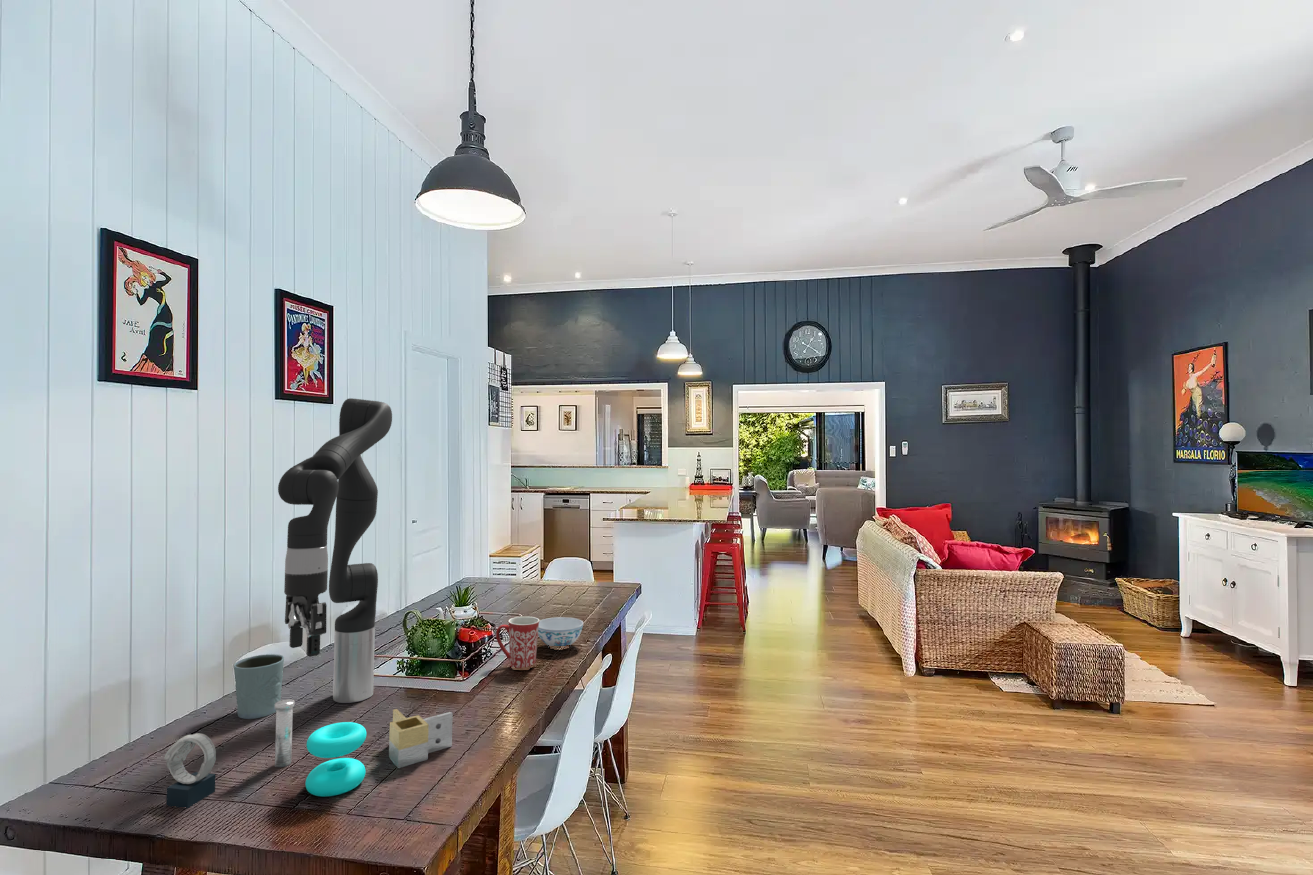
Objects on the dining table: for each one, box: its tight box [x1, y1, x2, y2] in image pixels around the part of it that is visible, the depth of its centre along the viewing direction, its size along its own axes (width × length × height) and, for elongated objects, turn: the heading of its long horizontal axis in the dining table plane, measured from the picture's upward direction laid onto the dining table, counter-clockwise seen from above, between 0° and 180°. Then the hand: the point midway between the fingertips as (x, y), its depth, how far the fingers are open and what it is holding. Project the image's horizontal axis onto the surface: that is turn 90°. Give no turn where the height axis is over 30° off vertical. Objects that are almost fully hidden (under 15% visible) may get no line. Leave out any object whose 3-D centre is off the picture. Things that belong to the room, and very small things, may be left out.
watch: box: [163, 732, 217, 809], centre depth 112 cm, size 6×8×11 cm
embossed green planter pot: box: [233, 653, 285, 720], centre depth 149 cm, size 10×10×12 cm
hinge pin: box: [274, 698, 296, 768], centre depth 124 cm, size 3×3×12 cm
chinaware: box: [538, 616, 584, 647], centre depth 201 cm, size 15×15×8 cm
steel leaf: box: [388, 711, 453, 769], centre depth 129 cm, size 6×12×7 cm, turn 130°
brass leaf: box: [388, 708, 429, 750], centre depth 130 cm, size 12×6×7 cm, turn 40°
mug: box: [495, 616, 541, 668], centre depth 183 cm, size 13×9×14 cm
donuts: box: [304, 721, 368, 797], centre depth 117 cm, size 10×10×10 cm
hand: (304, 651), depth 125 cm, fingers open, 8 cm apart
